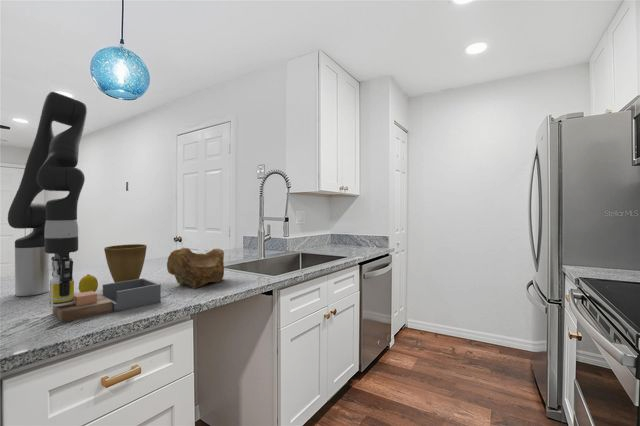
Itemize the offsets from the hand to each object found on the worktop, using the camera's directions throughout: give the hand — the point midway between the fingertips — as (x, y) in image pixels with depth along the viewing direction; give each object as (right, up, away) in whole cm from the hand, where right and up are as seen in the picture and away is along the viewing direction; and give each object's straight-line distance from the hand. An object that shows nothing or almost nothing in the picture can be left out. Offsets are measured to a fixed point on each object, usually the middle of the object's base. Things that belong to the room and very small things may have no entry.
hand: (62, 293), depth 90 cm
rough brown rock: (+25, -7, +39) cm, 47 cm away
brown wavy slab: (+3, -7, +4) cm, 8 cm away
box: (+11, -7, +14) cm, 19 cm away
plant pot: (-5, -6, +38) cm, 39 cm away
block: (+4, -4, +4) cm, 7 cm away
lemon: (-8, -7, +21) cm, 23 cm away
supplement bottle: (0, -3, 0) cm, 3 cm away
